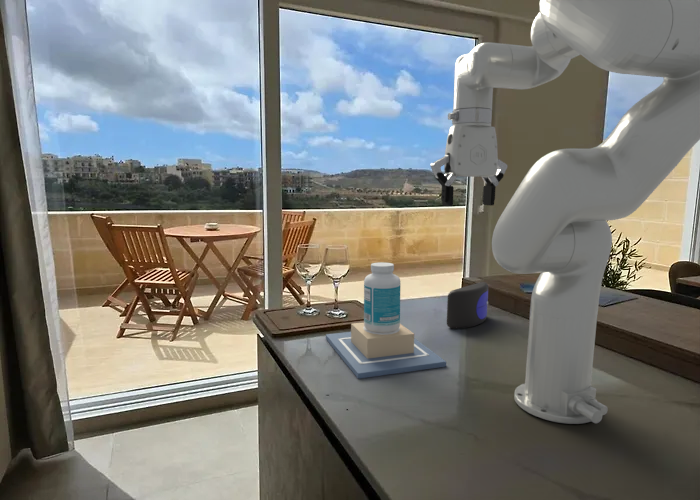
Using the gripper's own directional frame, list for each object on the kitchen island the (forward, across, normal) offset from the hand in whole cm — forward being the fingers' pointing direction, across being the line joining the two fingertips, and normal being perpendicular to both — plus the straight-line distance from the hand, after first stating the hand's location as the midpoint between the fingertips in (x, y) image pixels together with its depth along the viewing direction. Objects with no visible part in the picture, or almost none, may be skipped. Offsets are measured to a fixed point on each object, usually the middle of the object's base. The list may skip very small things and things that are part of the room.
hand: (468, 205), depth 97 cm
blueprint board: (+30, -18, +2) cm, 35 cm away
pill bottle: (+25, -18, +2) cm, 31 cm away
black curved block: (+31, +10, +14) cm, 35 cm away
